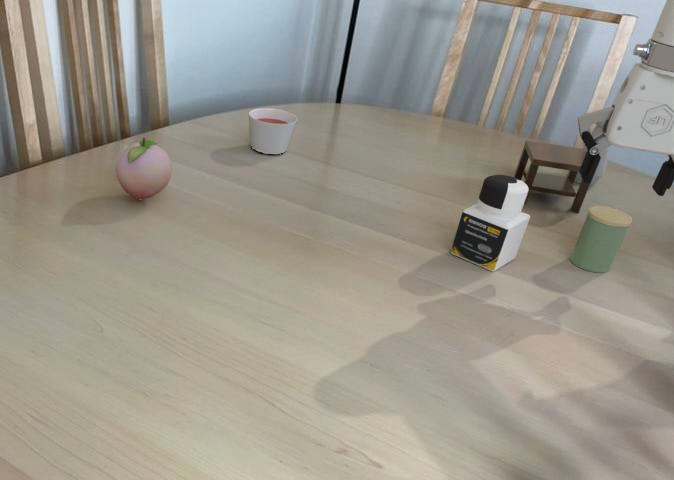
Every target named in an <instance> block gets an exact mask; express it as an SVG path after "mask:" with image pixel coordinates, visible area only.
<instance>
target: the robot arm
mask: <svg viewBox="0 0 674 480" xmlns="http://www.w3.org/2000/svg"><path fill="white" fill-rule="evenodd" d="M632 55H633V56H637V57H639V58H640V60H641V61H640V63H639V62H636V63H634V65H633V66H632V68H631V69H630V71H629V72H628V74H627V75H626V77H625V79H624V80H623V82H622V84H621V85H620V87H619V89H618V91H617V93H616V95H615V97H614V99H613V100H612V103H611V105H610V107H605V108H602V109H598V110H594V111H592V112H588V113H585V114H584V113H583V114H581V115H578V117H577V126H578V132H579V137H580V139H581V140H582V143H583V144H584V145H585V146H586V147H587V149H588V150H587V152H586V155H585V157H584V160H583V162H582V165H581V167H580V171H579V173H580V174H581V177H582V179H583V181H584V183H587V184H589V183H591V181H592V179H593V176H594V174H595V171H596V169H597V167H598V164H599V162H600V159H601V157H600V155H599V154H600V152H601V151H603V150H604V149H606V148H607V147H609V146H611V147H612V146H614V147H617V148H622V149H628V150H634V151H641V152H647V153H653V154H658V155H659V154H660V155H666V156H667V157H668V160H665V161H664V162H662V164H661V167H660V169H659V171H658V173H657V175H656V178H655V179H654V182H653V184H652V187H651V188H652V190H653V191H654V192H655V194H656V195H657V196H658V197H664V196H665V194H666V192H667V190H669V189H671V187H672V186H673V183H674V0H666V1H665V3H664V6H663V7H662V10H661V14H660V16H659V18H658V19H657V22H656V25H655V27H654V30H653V32H652V35H651V37H650V38H648V40H647V41H646V43H643V44H640V43H639V44H638V43H636V44H635V46H634V48H633V51H632ZM601 121H604V123H603V126H602V133H600V134H599V135H597V136H596V137H594V138H593V137H592V135H591V133H592V131H591V126H593V125H594V124H595V123H598V122H601Z"/></svg>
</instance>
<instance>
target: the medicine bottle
mask: <svg viewBox="0 0 674 480" xmlns="http://www.w3.org/2000/svg"><path fill="white" fill-rule="evenodd" d="M528 191H529V188H528V186H527V185H526V184H525V183H524V181H523V180H522V179H521V180H520V179H517V178H515V177H514V176H512V175H507V174H493V175H489V176H487V177H486V178H484V180H483V183H482V186H481V188H480V193H479V196H478V198H477V203H475V204H473V205H471V206H469V207H467V208H465V209H463V210H462V212H461V216H460V219H459V222H458V225H457V228H456V232H455V236H454V239H453V241H452V244H451V248H450V254H451V255H453V256H455V257H457V258H460V259H462V260H465V261H466V262H468V263H471V264H474V265H475V266H477V267H480V268H483V269H485V270H488V271H490V272H491V273H492V272H493V273H494V272H495V271H497V270H499V269H500V268H502V267H503V266H505V265H507V264H509V263H510V262H512V261H513V260H515V259H516V257H517V254H518V251H519V249H520V246H521V243H522V241H523V238H524V235H525V232H526V231H527V228H528V224H529V222H530V219H531V215H530V214H528V213H525V212H523V208H524V205H525V204H524V202H525V199H526V196H527V194H528Z"/></svg>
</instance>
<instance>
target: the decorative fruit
mask: <svg viewBox="0 0 674 480" xmlns="http://www.w3.org/2000/svg"><path fill="white" fill-rule="evenodd" d="M172 166H173V165H172V161H171V158H170V157H169V155H168V153H167V152H166V150H164V149H163V148H161V147H160V146H159V145H157V142H156V141H155V140H151V139H147V138H146V137H142V139H141V140H140V141H138V142H135V143H132V144H130V145H128V146H127V147H126V148H125V149H124V152H123V153H122V154H121V156H120V157H119V158H118V160H117V163H116V164H115V176H116V180H117V181H118V184H119V185H120V187H121V188H122V189H123V191H124V192H125V193H126V194H127V195H129V196H130V197H131V198H134V199H136V198H137V199H136V200H138V199H143V200H146V199H150V198H153V197H154V196H156V195H158V194H159V193H160V192H162V191H164V189H166V187H167V186H168V184H169V182H170V180H171V177H172V173H173V172H172V171H173V169H172V168H173V167H172Z"/></svg>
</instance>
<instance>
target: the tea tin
mask: <svg viewBox="0 0 674 480" xmlns="http://www.w3.org/2000/svg"><path fill="white" fill-rule="evenodd" d="M632 223H633V218H632V216H630V214H628V213H626V212H625V211H622V210H620V209H617V208H614V207H609V206H603V205H601V206H600V205H595V206H592V207H589V209H588V212H587V216H586V218H585V221H584V222H583V225H582V228H581V230H580V233H579V236H578V238H577V240H576V242H575V245H574V248H573V250H572V252H571V255H570V257H569V261H570V262H571V263H572V264H573V265H574V266H575V267H578V268H580V269H582V270H584V271H588V272H591V273H599V274H601V273H608V272H609V271H610V270H611V267H612V265H613V264H614V261H615V259H616V256H617V255H618V252H619V250H620V247H621V245H622V243H623V241H624V238H625V237H626V234H627V232H628V229H629V227H630V226H631V225H632Z"/></svg>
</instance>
